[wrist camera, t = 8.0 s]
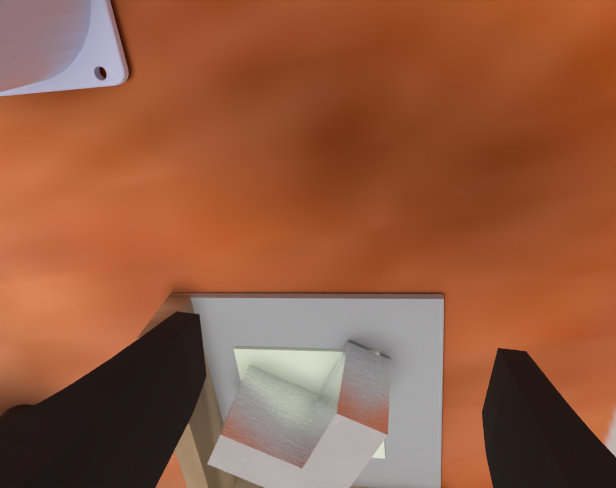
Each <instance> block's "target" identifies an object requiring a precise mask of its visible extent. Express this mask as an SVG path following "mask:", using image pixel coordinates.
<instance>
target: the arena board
mask: <svg viewBox="0 0 616 488" xmlns="http://www.w3.org/2000/svg"><path fill="white" fill-rule="evenodd" d="M172 296H173V295H172ZM170 297H171V296H170ZM175 297H176V298H180V297H177V295H176V296H175ZM188 297H189V295H188ZM190 297H191V301H192V305H193V309H194V313H195V314H200V323H201V331H202V340H203V347H204V351H205V355H206V359H207V363H208V367H209V370H210V374H211V378H212V382H213V386H214V390H215V393H216V397H217V401H218V405H219V409H220V413H221V416H222V420H223V424H224V422H225V420H226V417H227V415H228V412H229V410H230V408H231V405H232V403H233V400H234V398H235V395H236V393H237V391H238V388H239V386H240V384H241V382H242V379H243V377H244V375H245V373H246V370H247V368H248V366H249V365H251V366H254V367H256V368H258V369H261V370H263V371H265V372H268V373H270V374H273V375H275V376H277V377H280V378H282V379H284V380H287V381H289V382H292V383H294V384H296V385H299V386H301V387H303V388H306V389H308V390H311V391H313V392H315V393H319V391H320V390H321V388H322V386H323V384H324V383H325V381H326V379H327V377H328V376H329V374H330V372H331V370H332V369H333V367H334V365H335V363H336V362H337V360H338V358H339V356H340V355H341V353H342V351H343V349H344V348H345V346H346V344H347V342H350V343H352V344H355V345H357V346H359V347H362V348H364V349H366V350H369V351H371V352H374V353H376V354H378V355H381V356H383V357H385V358H388V359H390V360H391V368H390V394H389V421H388V436H387V437H386V438H385V440H384V441H383V443H382V444H381V445H380V447H379V448H378V449H377V451H376V452H375V454H374V455H373V456H372V458H371V459H370V460H369V462H368V463H367V465H366V466H365V467H364V469H363V470H362V471H361V473H360V474H359V476H358V477H357V478H356V480H355V481H354V482H353V484H352V485H351V486H361V487H373V488H441V436H442V381H443V326H444V295H443V294H300V293H193V295H192V296H190ZM182 298H183V297H182ZM184 298H185V296H184Z"/></svg>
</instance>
